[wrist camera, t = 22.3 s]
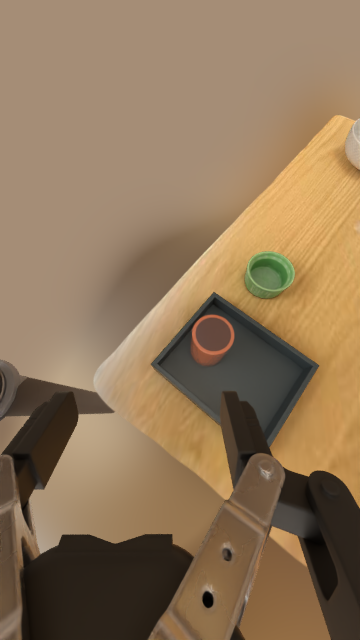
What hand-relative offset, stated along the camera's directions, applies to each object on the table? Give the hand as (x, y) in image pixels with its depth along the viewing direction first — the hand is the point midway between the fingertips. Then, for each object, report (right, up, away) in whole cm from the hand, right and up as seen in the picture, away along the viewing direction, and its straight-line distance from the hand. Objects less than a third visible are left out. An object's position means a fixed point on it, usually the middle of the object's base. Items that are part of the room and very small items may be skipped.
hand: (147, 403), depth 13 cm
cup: (+7, -1, +30) cm, 31 cm away
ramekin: (+19, +12, +36) cm, 42 cm away
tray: (+11, -4, +29) cm, 31 cm away
